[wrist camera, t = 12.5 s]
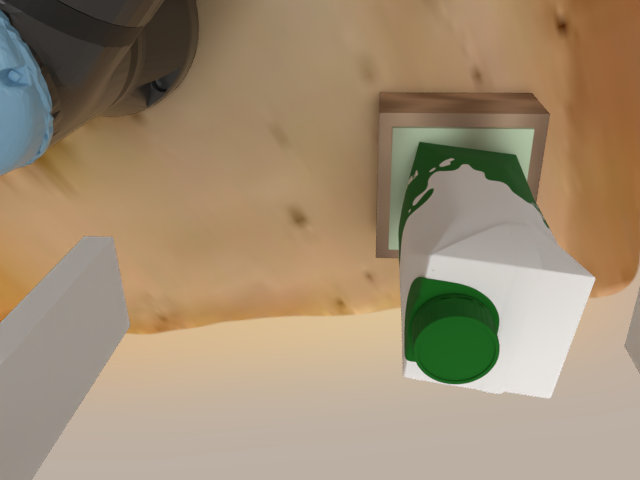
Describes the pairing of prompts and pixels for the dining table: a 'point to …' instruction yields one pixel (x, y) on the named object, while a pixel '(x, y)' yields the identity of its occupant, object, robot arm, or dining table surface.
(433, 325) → the soya milk
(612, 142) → the dining table surface
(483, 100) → the step block
